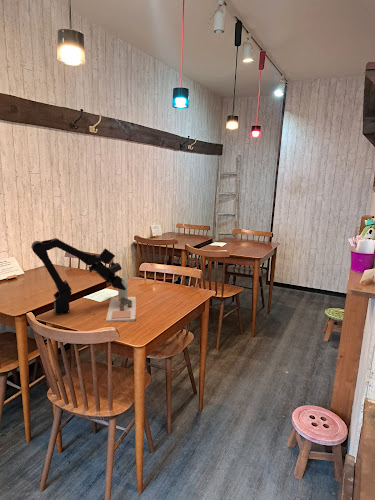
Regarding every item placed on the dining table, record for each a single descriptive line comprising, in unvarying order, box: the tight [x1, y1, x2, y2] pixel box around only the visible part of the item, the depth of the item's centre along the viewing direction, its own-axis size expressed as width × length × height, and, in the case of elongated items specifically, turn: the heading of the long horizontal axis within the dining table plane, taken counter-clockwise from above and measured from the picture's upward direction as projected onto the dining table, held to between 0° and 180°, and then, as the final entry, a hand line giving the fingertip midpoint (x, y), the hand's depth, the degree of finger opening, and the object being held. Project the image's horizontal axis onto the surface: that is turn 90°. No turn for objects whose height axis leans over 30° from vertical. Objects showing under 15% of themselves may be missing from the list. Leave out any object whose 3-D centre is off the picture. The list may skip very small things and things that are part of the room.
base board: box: [105, 296, 137, 323], centre depth 181 cm, size 34×14×1 cm, turn 8°
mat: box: [111, 311, 131, 319], centre depth 170 cm, size 9×9×1 cm
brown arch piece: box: [120, 297, 132, 311], centre depth 182 cm, size 8×11×4 cm
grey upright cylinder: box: [117, 277, 129, 302], centre depth 191 cm, size 5×5×12 cm
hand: (122, 287), depth 191 cm, fingers open, 9 cm apart
